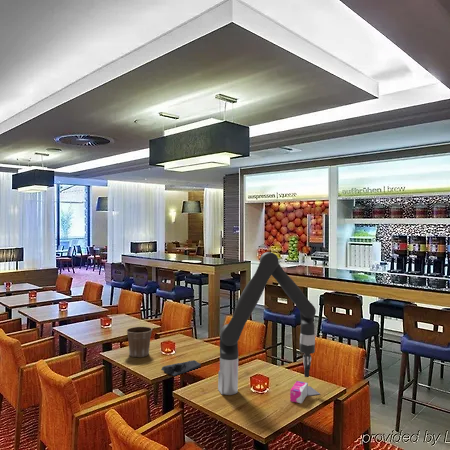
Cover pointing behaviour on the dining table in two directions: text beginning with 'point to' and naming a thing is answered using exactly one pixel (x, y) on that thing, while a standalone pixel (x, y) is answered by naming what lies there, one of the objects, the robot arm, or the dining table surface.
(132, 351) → the plant pot
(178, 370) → the dark slate chunk
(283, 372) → the dining table surface
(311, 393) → the mat
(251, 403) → the dining table surface
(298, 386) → the supplement box
